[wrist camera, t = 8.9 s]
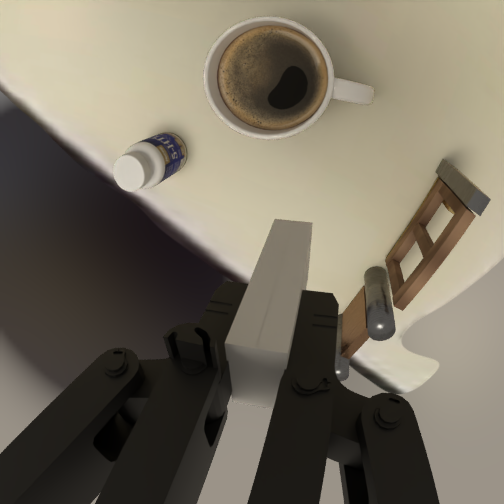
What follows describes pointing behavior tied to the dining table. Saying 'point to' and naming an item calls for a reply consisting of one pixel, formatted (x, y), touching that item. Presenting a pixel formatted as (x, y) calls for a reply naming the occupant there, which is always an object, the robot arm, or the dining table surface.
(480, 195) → the block
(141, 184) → the pill bottle
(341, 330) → the fence
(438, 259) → the gate
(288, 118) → the mug
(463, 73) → the dining table surface
